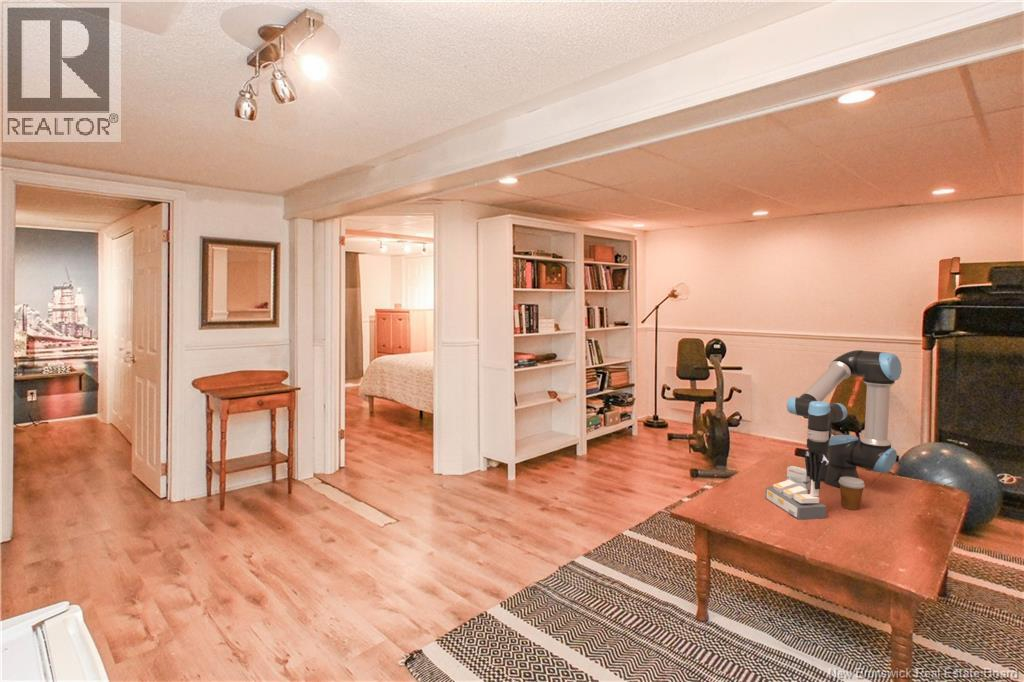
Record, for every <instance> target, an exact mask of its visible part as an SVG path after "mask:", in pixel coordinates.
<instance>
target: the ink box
mask: <svg viewBox="0 0 1024 682" xmlns="http://www.w3.org/2000/svg"><path fill="white" fill-rule="evenodd" d="M786 468H787V469H786V480H791V481H793V482H795V483H796V486H801V487H803V488H805V489H807V492H808V494H810V491H811V486H810V480H811V479H810V477H809V476H807V473H806V468H803V467H799V466H796V465H795V466H794V465H790V466H787V467H786Z"/></svg>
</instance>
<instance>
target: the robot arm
mask: <svg viewBox="0 0 1024 682" xmlns="http://www.w3.org/2000/svg"><path fill="white" fill-rule="evenodd" d="M902 371H903V370H902V363H901V360H900V358H899V357H898V355H896V354H894V353H890V352H884V351H870V350H861V349H860V350H859V349H857V350H851V351H847V352H846V353H843V354H841V355H839V356H837V357H836V358H835V359H833V360H832V361H831V362H830V363H829V365H828V368H827V370H825V371H824V372H823V373H822V375H820V377H818V378H817V379H816V380H815V381H814V382H813V383H812V384H811V385H810V386H809V387H808V388H807V389H806V390H805V391H804V392H803V393H802V394H801V395H800V396H799V397H797V396H792V397H791V396H790V397H789V399H788V400H787V402H786V409H787V412H788V413H789V414H792V415H795V416H800V417H804V418H805V417H806V418H807V435H806V436H807V439H806V448H807V451H803V456H804V462H805V469H806V473H807V476H809V477H810V493H809V494H810V495H811V496H813V497H814V496H816V497H819V496H820V489H821V482H823V483H824V484H827V485H829V486H832V487H836V488H839V489H840V484H839V479H840V477H846V476H847V477H854V478H858V479H860V477H859V474H858V471H857V468H858V467H859V468H862V469H866V470H870V471H873V472H878V473H882V474H887V473H888V472H890V471H891V470H892V469H893V467H894V466H895V463H896V461H897V456H898V454H897V450H896V449H895V448H892V442H891V441H890V440H889V439H888V431H889V412H890V399H891V398H890V396H891V395H890V393H891V386H893V385H895V382H896V381H898V380H899V379H900V378H901V375H902ZM851 376H859V377H862V381H863V383H864V384H865V385H866V395H865V418H864V435H863V437H861V438H860V439H859V437H858V436H857V435H850V434H835V435H832V436H830V438H829V435H830V434H829V432H830V424H833V423H838V422H841V421H844V420H845V419H846V418H847V416H848V410H847V407H846V406H845V405H844V404H842V403H840V402H832V403H829V402H828V401H824V400H825V399H826V398H827V397H828V396H829V395H830V394H831V392H832V391H833V390H835V388H837V386H839V385H840V383H842V382H843V380H847V379H849V378H850V377H851ZM827 451H828V453H827V454H828V455H826V452H827ZM827 457H828V458H827Z"/></svg>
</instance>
